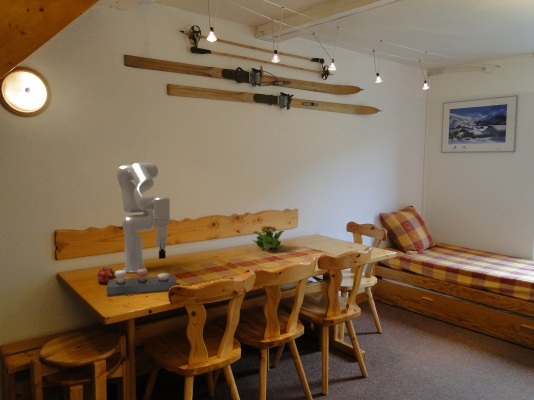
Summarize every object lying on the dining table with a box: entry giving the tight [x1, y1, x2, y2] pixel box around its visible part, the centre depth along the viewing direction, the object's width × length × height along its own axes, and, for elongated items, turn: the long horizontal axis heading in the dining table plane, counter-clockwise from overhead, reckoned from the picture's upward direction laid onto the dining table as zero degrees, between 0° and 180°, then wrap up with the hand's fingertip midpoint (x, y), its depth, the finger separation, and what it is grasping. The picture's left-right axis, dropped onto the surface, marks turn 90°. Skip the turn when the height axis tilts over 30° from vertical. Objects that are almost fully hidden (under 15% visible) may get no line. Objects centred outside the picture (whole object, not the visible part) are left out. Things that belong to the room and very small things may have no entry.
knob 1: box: [114, 269, 127, 284], centre depth 200 cm, size 5×5×6 cm
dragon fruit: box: [96, 266, 117, 285], centre depth 213 cm, size 8×8×12 cm
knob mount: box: [106, 274, 177, 297], centre depth 203 cm, size 12×32×4 cm, turn 106°
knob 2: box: [157, 272, 169, 281], centre depth 206 cm, size 5×5×6 cm
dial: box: [136, 268, 149, 282], centre depth 203 cm, size 5×5×6 cm
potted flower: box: [252, 225, 287, 253], centre depth 284 cm, size 25×24×18 cm
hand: (162, 258), depth 205 cm, fingers closed
